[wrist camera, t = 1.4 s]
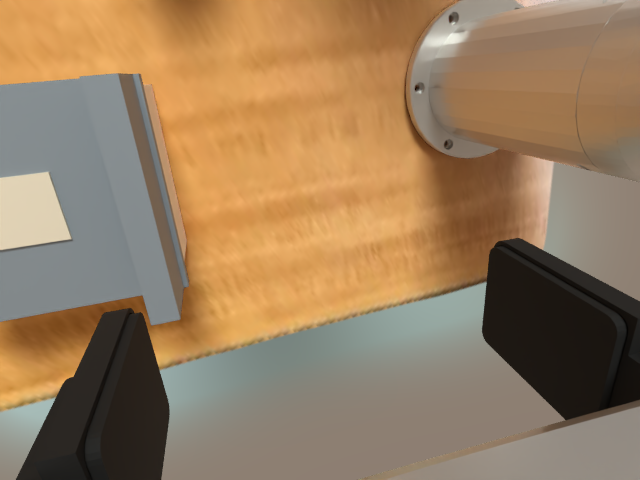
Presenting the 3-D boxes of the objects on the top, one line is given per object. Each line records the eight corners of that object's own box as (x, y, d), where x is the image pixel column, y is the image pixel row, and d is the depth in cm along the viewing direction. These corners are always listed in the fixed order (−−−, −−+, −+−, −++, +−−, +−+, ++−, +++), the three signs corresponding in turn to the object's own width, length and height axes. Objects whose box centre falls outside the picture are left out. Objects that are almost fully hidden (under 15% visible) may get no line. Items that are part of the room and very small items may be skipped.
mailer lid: (140, 73, 23) (124, 72, 18) (189, 281, 28) (185, 318, 24) (-176, 99, 20) (-282, 106, 15) (-56, 326, 25) (-111, 378, 21)
